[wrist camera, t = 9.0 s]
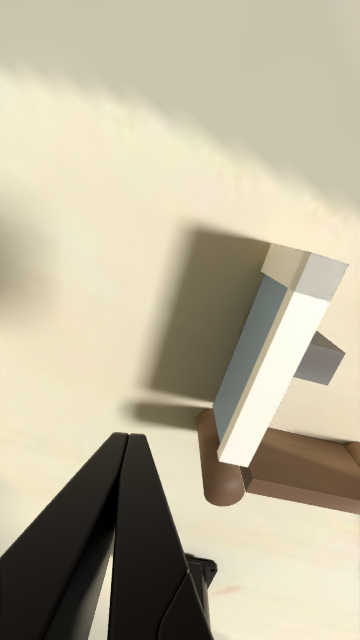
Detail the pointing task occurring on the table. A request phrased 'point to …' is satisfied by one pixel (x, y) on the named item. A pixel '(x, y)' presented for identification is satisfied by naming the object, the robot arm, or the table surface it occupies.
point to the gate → (272, 346)
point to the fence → (287, 454)
